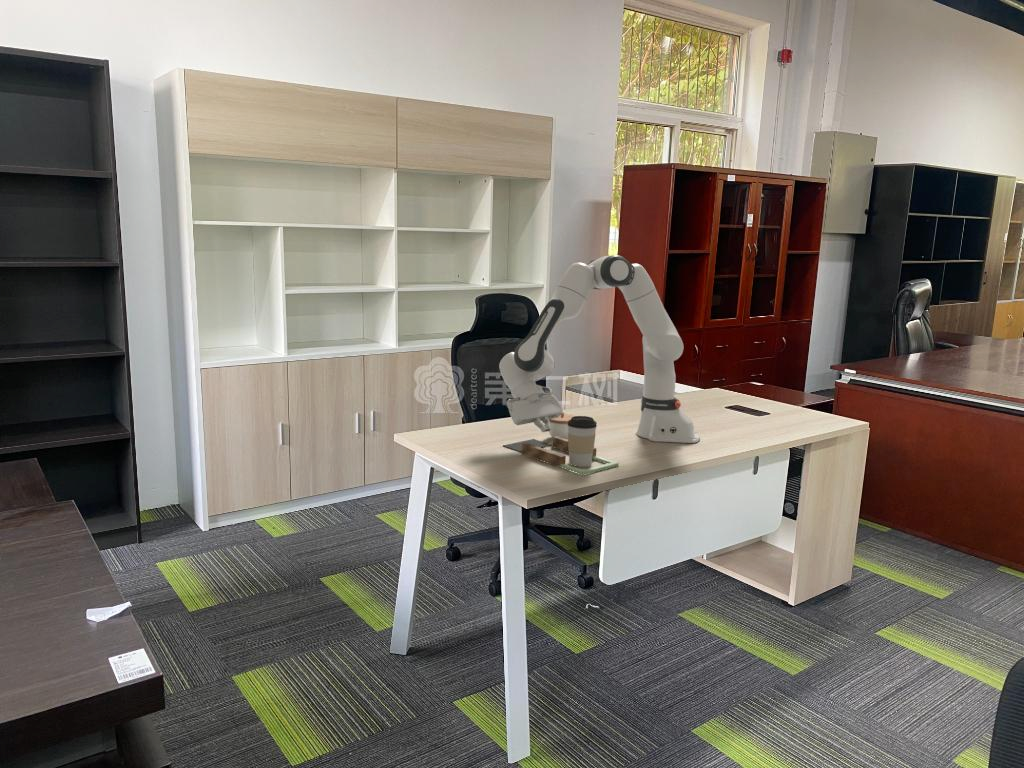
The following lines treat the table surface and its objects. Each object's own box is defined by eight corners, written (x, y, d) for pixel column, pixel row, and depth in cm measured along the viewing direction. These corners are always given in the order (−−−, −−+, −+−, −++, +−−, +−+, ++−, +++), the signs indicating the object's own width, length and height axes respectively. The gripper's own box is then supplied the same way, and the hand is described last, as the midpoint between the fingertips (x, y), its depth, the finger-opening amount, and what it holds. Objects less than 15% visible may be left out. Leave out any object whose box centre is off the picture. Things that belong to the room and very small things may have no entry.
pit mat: (503, 446, 252) (503, 445, 252) (533, 439, 261) (533, 438, 261) (520, 452, 245) (520, 451, 245) (551, 445, 254) (551, 444, 254)
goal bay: (560, 467, 230) (560, 464, 230) (595, 458, 241) (595, 455, 241) (582, 475, 223) (583, 472, 223) (618, 465, 234) (618, 462, 234)
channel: (521, 454, 244) (521, 443, 243) (556, 446, 254) (557, 436, 253) (560, 467, 230) (561, 456, 230) (595, 458, 241) (596, 448, 240)
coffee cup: (564, 459, 239) (566, 413, 237) (592, 459, 240) (594, 414, 237) (567, 467, 231) (569, 420, 228) (596, 468, 231) (599, 421, 228)
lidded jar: (544, 434, 269) (545, 409, 267) (573, 434, 270) (574, 409, 268) (548, 442, 258) (549, 416, 256) (579, 442, 259) (580, 416, 257)
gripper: (509, 394, 242) (528, 430, 236) (554, 387, 255) (573, 421, 250) (499, 405, 246) (518, 440, 240) (544, 398, 259) (563, 431, 254)
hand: (547, 430), depth 245 cm, fingers closed
